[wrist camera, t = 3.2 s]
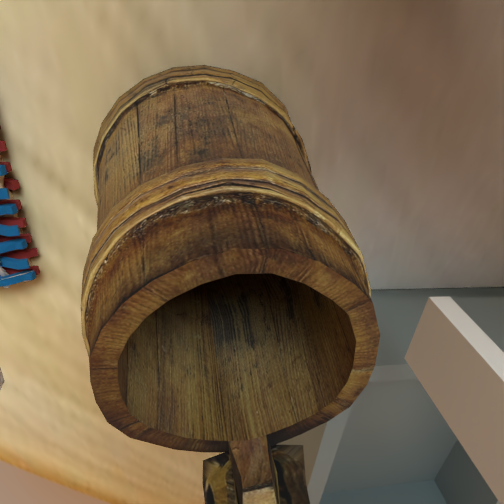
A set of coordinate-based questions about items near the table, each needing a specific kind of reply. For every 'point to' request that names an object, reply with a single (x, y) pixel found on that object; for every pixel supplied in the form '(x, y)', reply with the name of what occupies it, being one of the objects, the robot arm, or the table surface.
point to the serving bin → (399, 419)
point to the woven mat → (13, 234)
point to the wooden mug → (221, 283)
